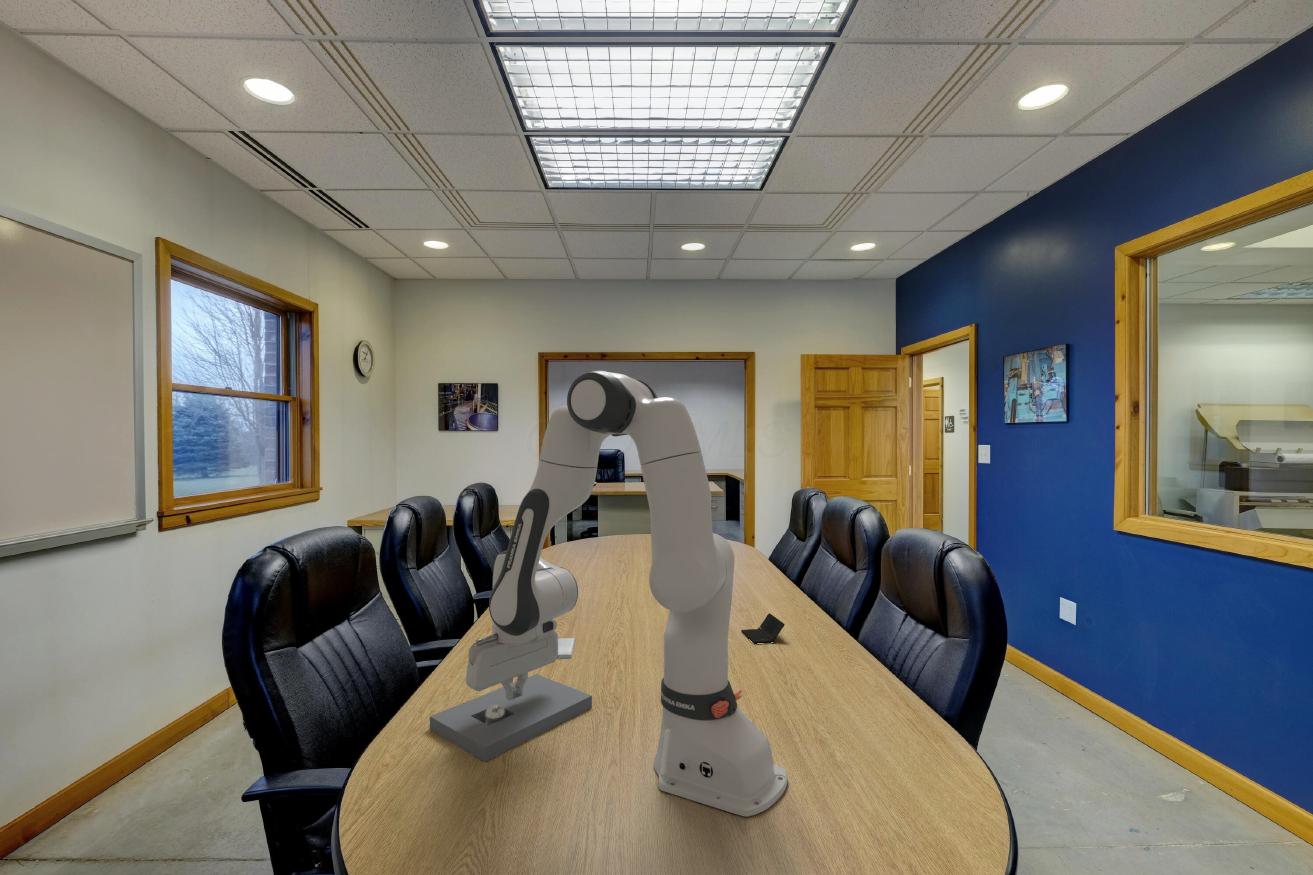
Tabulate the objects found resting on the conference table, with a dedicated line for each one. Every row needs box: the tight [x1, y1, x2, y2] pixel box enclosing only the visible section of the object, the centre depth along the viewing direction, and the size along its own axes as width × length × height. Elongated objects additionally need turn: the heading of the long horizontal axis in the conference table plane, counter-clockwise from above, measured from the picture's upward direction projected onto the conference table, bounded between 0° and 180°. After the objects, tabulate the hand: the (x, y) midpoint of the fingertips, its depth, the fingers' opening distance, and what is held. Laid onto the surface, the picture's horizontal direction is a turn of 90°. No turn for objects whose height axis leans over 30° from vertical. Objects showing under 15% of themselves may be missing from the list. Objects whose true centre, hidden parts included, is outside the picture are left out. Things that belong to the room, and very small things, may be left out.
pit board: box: [429, 673, 593, 763], centre depth 111 cm, size 18×26×2 cm
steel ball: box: [484, 705, 506, 725], centre depth 108 cm, size 4×4×4 cm
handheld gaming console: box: [740, 613, 785, 645], centre depth 160 cm, size 12×7×10 cm
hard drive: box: [556, 637, 576, 660], centre depth 150 cm, size 2×8×12 cm
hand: (514, 697), depth 112 cm, fingers closed
